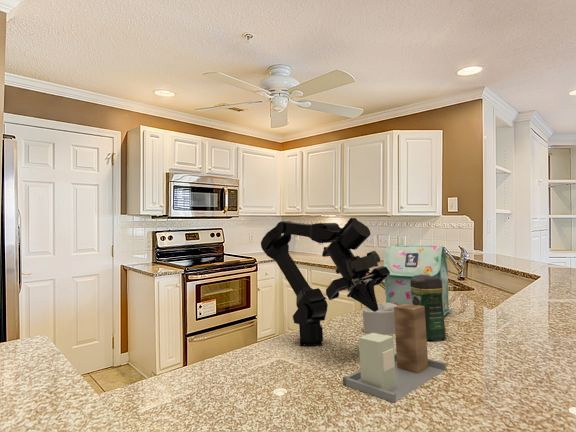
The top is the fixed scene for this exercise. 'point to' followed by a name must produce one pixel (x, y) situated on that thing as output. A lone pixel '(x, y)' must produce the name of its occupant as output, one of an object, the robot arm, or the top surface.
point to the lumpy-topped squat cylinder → (379, 319)
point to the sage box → (377, 360)
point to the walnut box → (411, 337)
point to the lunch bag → (413, 271)
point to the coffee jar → (430, 304)
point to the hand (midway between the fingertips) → (376, 310)
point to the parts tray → (397, 381)
